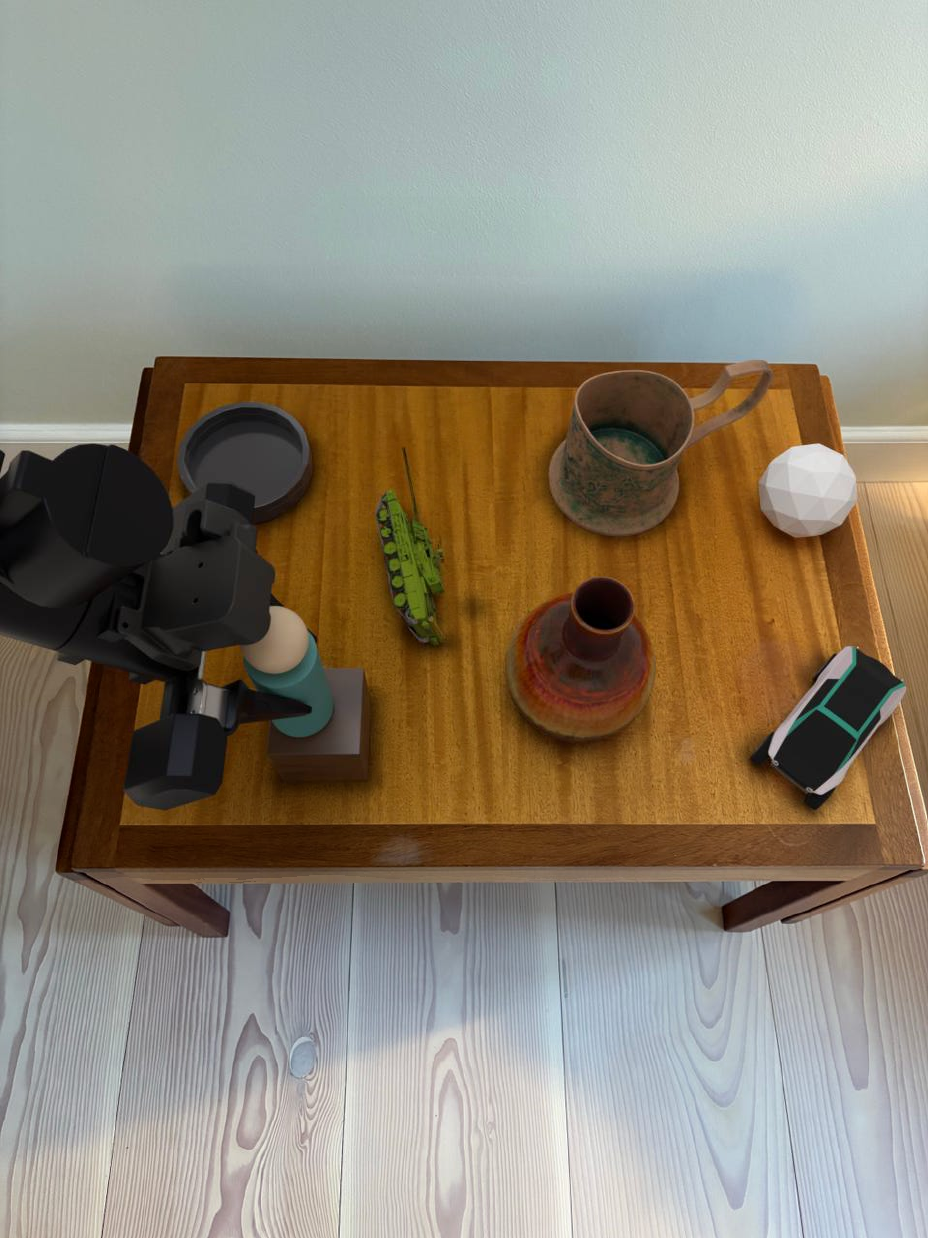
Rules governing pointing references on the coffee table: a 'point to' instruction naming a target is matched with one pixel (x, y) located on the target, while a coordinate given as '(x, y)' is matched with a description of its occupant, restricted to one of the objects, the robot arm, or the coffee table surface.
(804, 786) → the toy car
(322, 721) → the wooden doll
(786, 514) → the geometric ball
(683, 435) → the mug
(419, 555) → the toy tank
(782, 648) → the coffee table surface
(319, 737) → the walnut block
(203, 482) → the round grey tray
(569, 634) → the vase
